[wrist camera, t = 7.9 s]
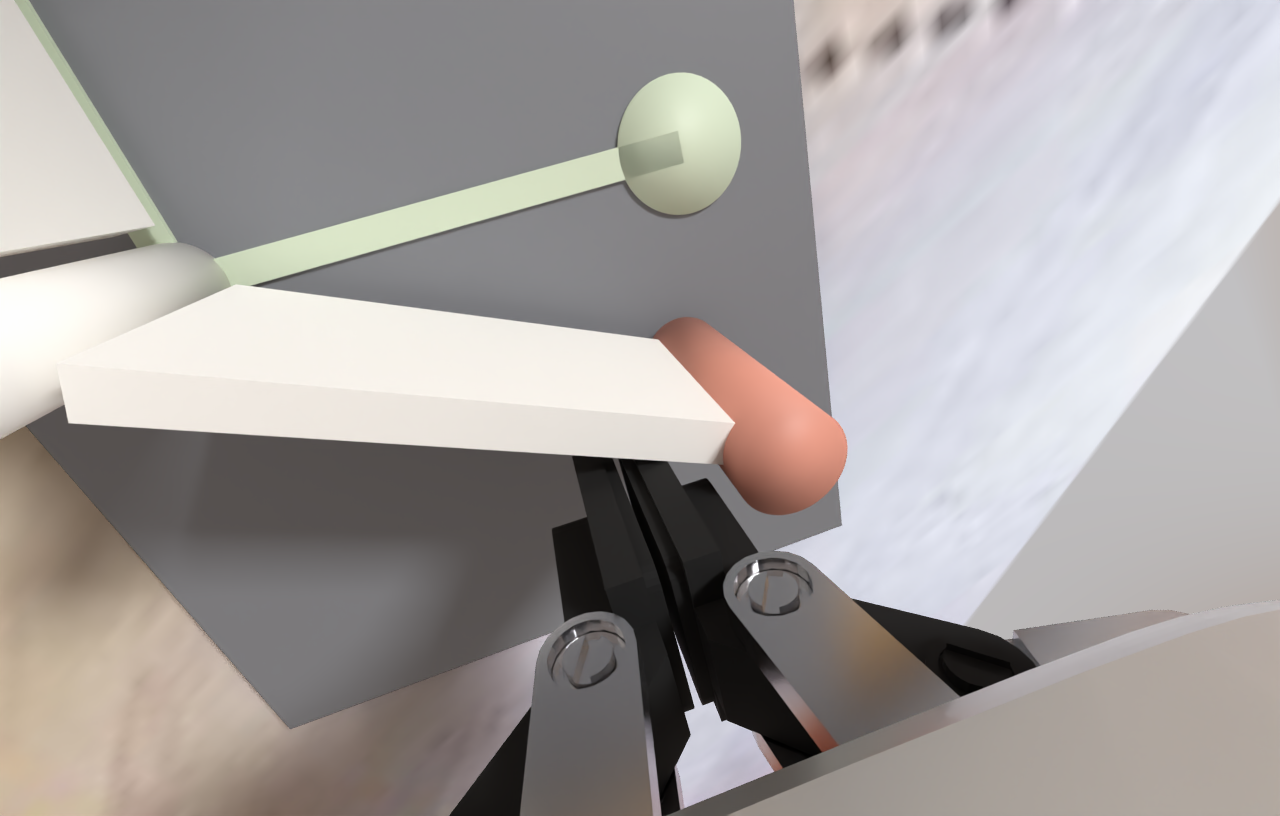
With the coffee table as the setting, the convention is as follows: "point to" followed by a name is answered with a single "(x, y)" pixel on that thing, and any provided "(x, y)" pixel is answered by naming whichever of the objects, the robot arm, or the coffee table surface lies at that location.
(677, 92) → the card
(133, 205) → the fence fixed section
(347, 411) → the fence swing section
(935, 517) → the coffee table surface
